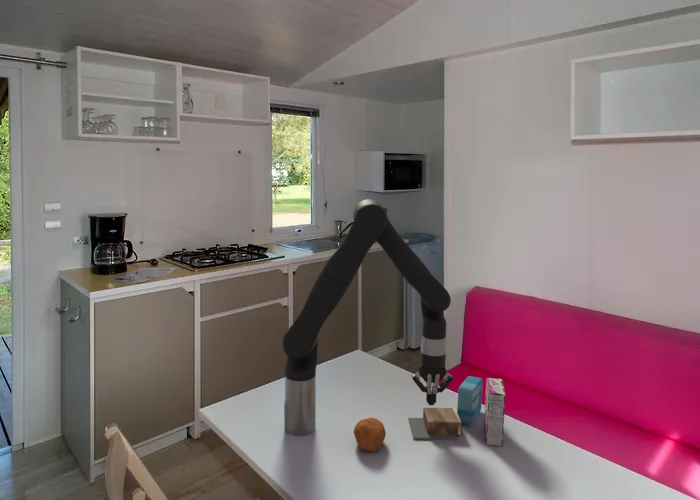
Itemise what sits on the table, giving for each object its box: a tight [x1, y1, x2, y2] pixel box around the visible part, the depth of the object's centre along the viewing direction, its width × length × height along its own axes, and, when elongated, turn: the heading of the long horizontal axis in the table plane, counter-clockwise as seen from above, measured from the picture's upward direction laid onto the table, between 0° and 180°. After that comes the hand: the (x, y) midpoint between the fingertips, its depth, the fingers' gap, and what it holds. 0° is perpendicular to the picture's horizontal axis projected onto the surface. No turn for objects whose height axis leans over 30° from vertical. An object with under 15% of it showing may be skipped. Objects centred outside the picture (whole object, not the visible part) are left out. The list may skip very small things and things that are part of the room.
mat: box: [408, 417, 458, 441], centre depth 157 cm, size 13×12×1 cm
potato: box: [353, 417, 387, 452], centre depth 147 cm, size 9×11×8 cm
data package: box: [456, 375, 484, 426], centre depth 164 cm, size 12×4×12 cm, turn 150°
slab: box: [422, 407, 462, 436], centre depth 157 cm, size 4×9×10 cm
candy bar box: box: [483, 377, 506, 448], centre depth 152 cm, size 11×5×16 cm, turn 168°
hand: (431, 404), depth 156 cm, fingers closed
